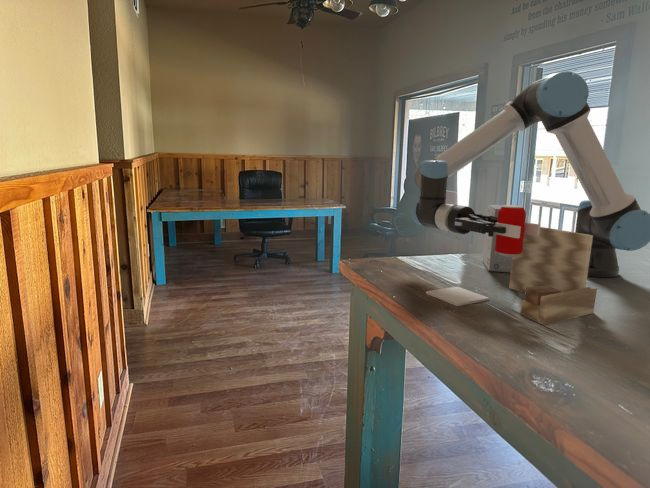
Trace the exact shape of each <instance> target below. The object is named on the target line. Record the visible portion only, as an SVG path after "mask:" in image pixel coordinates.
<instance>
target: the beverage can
mask: <svg viewBox="0 0 650 488" xmlns="http://www.w3.org/2000/svg"><path fill="white" fill-rule="evenodd" d="M526 215H527V213H526V210H525V208H524V206H523V205H517V204H503V206H502V207H501V208H500V210H499V211H498V220H497V223H503V224H509V225H515V226H521V230H520V238H513V237H508V236H502V235H497V234H496V243H495V251H496V252H497V253H498V254H499V255H501V256H506V257H516V256H518V255H520V254H522V249H523V239H524V229H525V222H526V219H527V218H526Z"/></svg>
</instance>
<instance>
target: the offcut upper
mask: <svg viewBox="0 0 650 488" xmlns="http://www.w3.org/2000/svg"><path fill="white" fill-rule="evenodd" d="M556 293H561V291H560V290H557V289H555V288H552V287H549V286H540V287H526V293H524V294H525V296H524V300H526V301H528V302H531V303H533V304H535V305H540V301H541V296H546V295H551V294H556Z"/></svg>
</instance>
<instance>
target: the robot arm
mask: <svg viewBox="0 0 650 488" xmlns="http://www.w3.org/2000/svg"><path fill="white" fill-rule="evenodd" d="M589 94H590V91H589V86H588V84H587V82H586V80H585V78H583V77H582V76H581V75H579V74H578V73H576V72H573V71H559V72H553V73H551V74H549V75H547V76H544V77H543V78H541V79H538V80H535V81H533V82H532V83H530V84H529V85H528V86H527V87H526V88H524V89H523V90H522V91H520V93H518V94H517V95H516V96H515V97H514V98H512V99H511V100H510V101H508V102H506V103H505V104H504V106H503V109H502V110H501V111H500V112H498V114H496V115H494V116H493V117H492V118H490V119H489V120H487V121H486V122H484V123H483V124H481V125H480V126H479V127H477V128H476V129H474V130H473V131H472V132H470V133H469V134H467V135H466V136H464V137H463V138H462V139H460V140H458V141H457V142H456V143H455V144H453V145H452V146H450V147H448V149H446V150H445V151H443V152H442V153H440V154H439V155H438V156H436V157H434V159H432V160H431V159H430V160H429V159H428V160H423V161H422V162H421V166H420V167H418V168H417V169H416V170H415V172H414V176H413V181H414V183H415V186H416V187H417V188H418V189H419V199H418V201H416V202H415V203H413V206H412V208H411V209H410V216H411V219H412V221H413V222H414V223H415V224H417V225H418V226H419V225H420V226H422V227H425V228H431V229H437V230H442V231H445V233H446V234H450V232H451V233H455V234H461V235H466V234H469V233H471V232H472V233H473V232H475V233H477V234H478V233H479V234H482V235H485V233H488V236H490V237H493V232H495V234H497V235H502V236H508V237H513V238H520V230H521V226H515V225H509V224H503V223H497V220H498V217H494V216H487V215H483V214H482V213H476V212H475V211H474V209H473V208H472V207H470V206H466V205H458V204H452V203H447V202H446V201H447V187H448V179H449V178H450V177H452V176H453V175H454V174H456V173H458V172H459V171H460V170H462V169H463V168H465V167H466V166H468V165H469V164H471V163H472V162H473V161H474V160H477V159H478V158H480V157H481V156H482V155H484V154H485V153H487V152H488V151H490V150H491V149H492V148H494V147H495V146H497V145H499V143H501V142H502V141H504V140H506V139H507V138H509V137H510V136H511V135H513V134H514V133H516V132H517V131H518V132H519V131H521V132H523V131H525V130H526V129H527V128H529V127H530V126H533V125H534V124H537V123H540V122H541V123H542V125H543V127H544V129H545V131H546V132H547V133H550V134H553V135H555V137H556V138H557V141H558V142H559V144H560V146H561V149H562V150H563V152H564V154H565V156H566V158H567V160H568V162H569V164H570V166H571V168H572V170H573V171H574V173H575V175H576V177H577V179H578V181H579V183H580V185H581V187H582V189H583V190H584V193H585V195H586V197H587V199H585V200H581V201H580V202H579V204H578V209H577V212H576V213H577V215H576V224H575V230H574V232H576V233H582V234H588V235H593V240H592V247H591V254H590V261H589V268H588V275H587V277H595V278H616V277H618V276H619V273H620V266H619V263H618V257H617V251H616V249H617V250H621V251H627V252H632V251H637V250H640V249H642V248H644V247H646V246H647V245H648V244H649V243H650V212H648V211H647V210H643V209H642V208H641V206H640V205H639V202H638V201H637V200H636V197H635V195H634V194H629V193H627V192H625V189H624V188H623V186H622V184H621V182H620V180H619V178H618V176H617V174H616V172H615V170H614V167H613V166H612V164H611V162H610V161H609V158H608V156H607V154H606V152H605V150H604V148H603V147H602V145H601V142H600V140H599V139H598V137H597V134H596V132H595V131H594V128H593V126H592V125H591V123H590V120H589V119H588V118H589V116H590V115H589V114H590V112H591V110H592V109H591V108H590V106H589V104H588V103H589V102H588V98H589ZM540 227H541V224H538V223H534V222H526V221H525V229H524V234H528V235H534V236H539V233H540Z"/></svg>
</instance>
